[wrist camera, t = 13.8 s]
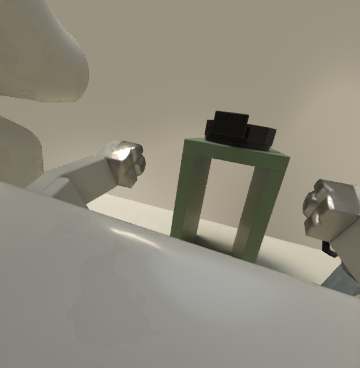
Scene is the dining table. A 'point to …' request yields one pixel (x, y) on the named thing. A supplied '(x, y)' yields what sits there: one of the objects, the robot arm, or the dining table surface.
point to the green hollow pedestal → (255, 202)
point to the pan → (238, 132)
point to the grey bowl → (340, 276)
